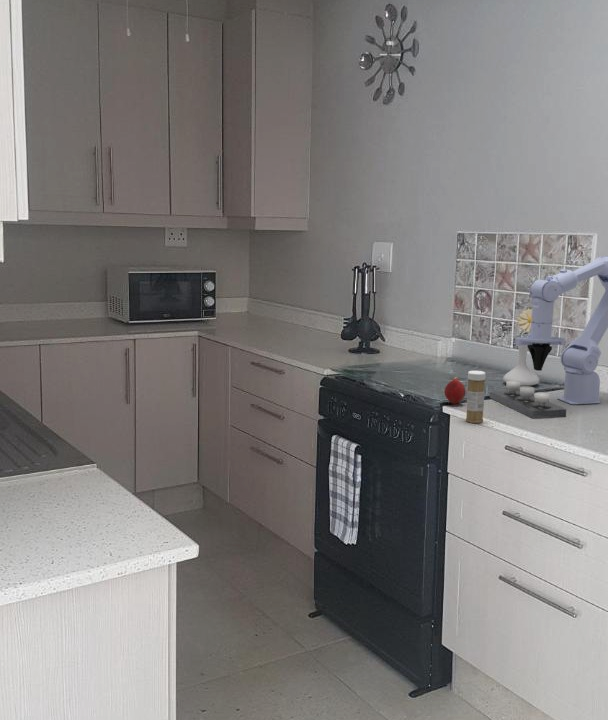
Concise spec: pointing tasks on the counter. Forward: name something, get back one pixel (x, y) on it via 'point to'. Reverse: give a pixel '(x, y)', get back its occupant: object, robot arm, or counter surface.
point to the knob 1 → (513, 386)
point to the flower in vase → (523, 356)
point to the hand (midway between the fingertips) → (537, 370)
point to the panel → (527, 405)
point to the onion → (455, 391)
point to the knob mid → (527, 392)
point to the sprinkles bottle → (475, 396)
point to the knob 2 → (541, 398)
